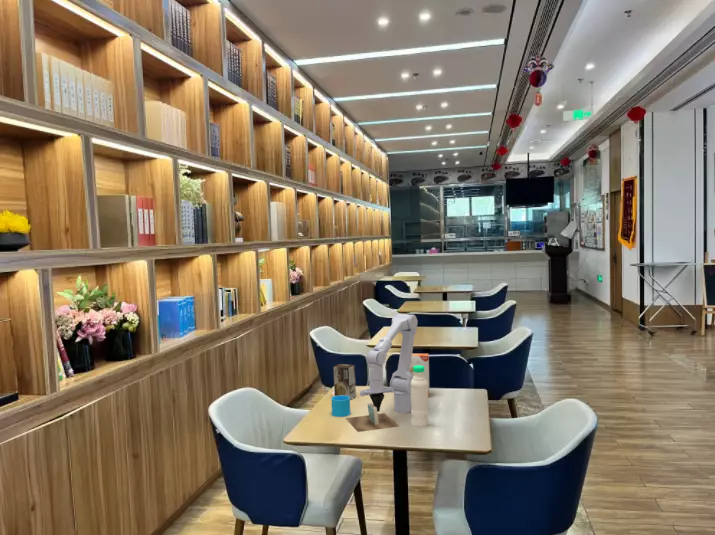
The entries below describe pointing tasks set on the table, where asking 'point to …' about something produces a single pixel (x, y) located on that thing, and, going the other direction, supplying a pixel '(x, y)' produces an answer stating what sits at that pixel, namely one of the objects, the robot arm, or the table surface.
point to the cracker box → (420, 360)
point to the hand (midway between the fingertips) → (377, 410)
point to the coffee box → (344, 380)
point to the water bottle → (419, 397)
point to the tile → (373, 413)
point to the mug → (340, 406)
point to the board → (371, 423)
